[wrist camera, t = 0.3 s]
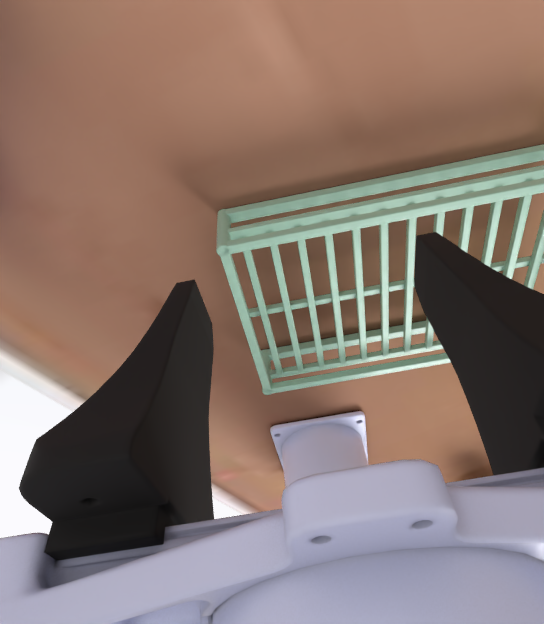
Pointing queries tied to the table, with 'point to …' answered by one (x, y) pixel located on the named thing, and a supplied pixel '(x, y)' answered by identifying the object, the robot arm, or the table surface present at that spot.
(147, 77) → the table surface
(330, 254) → the rack
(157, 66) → the table surface
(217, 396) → the table surface
